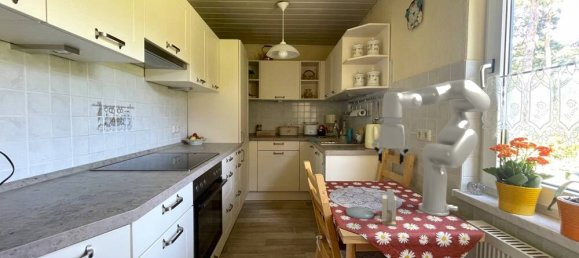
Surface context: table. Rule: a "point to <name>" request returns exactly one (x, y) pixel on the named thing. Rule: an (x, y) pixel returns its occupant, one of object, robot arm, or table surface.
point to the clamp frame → (389, 218)
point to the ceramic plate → (360, 212)
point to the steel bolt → (390, 200)
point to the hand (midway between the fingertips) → (390, 163)
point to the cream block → (384, 208)
